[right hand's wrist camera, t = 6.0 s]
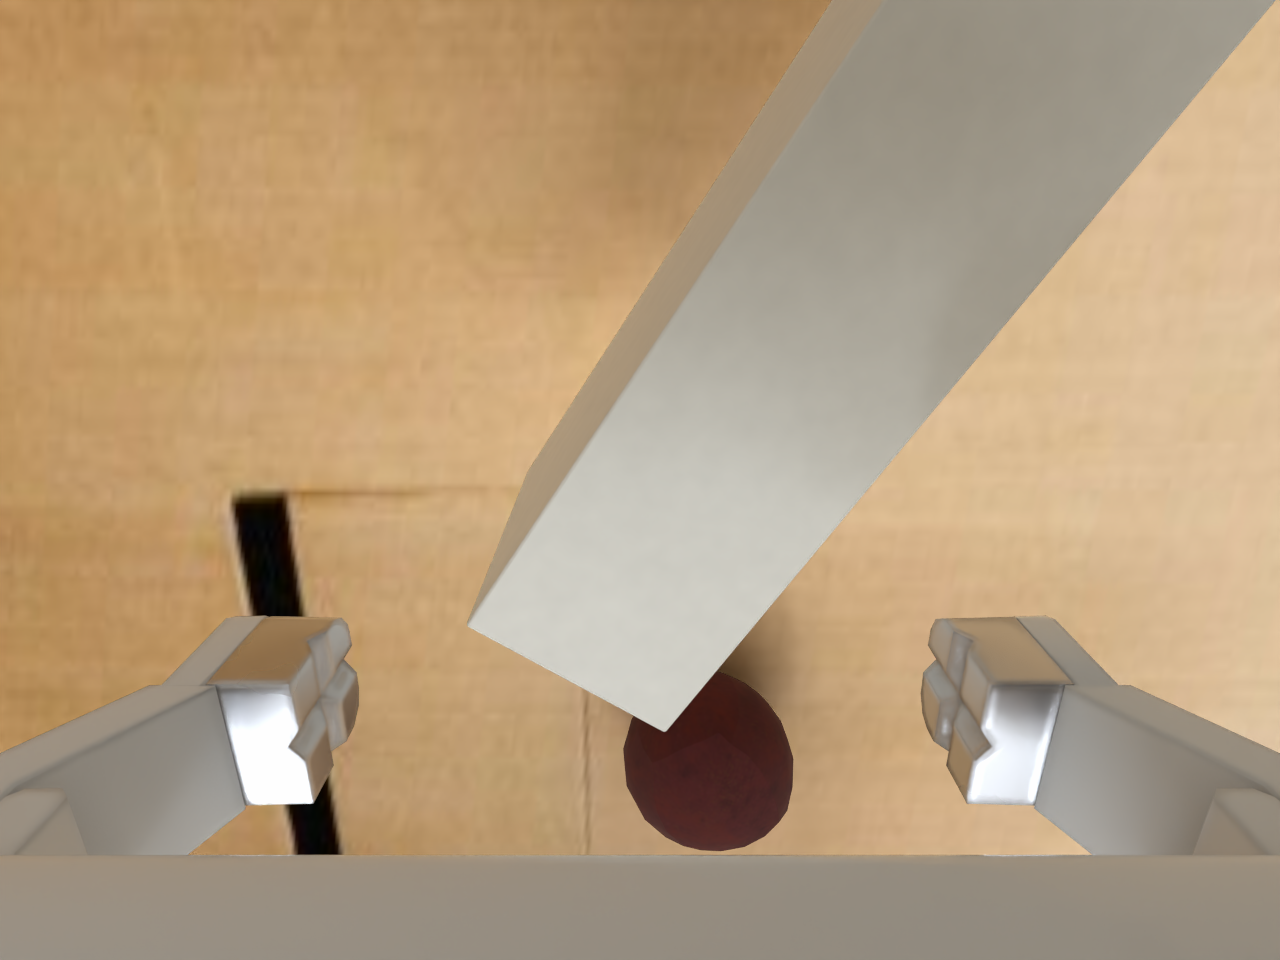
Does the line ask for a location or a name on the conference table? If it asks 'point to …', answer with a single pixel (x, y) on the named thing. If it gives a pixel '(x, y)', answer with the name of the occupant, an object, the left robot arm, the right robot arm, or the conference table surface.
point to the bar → (825, 315)
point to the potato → (712, 769)
